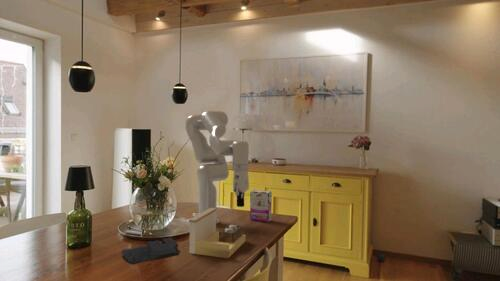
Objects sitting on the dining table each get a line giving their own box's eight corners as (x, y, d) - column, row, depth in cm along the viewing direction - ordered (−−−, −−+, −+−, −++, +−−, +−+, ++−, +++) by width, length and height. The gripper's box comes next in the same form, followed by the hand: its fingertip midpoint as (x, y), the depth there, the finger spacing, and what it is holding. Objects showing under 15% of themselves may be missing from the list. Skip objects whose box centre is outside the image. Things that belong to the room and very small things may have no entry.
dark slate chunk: (117, 254, 146) (117, 243, 146) (168, 244, 159) (168, 234, 159) (129, 266, 134) (129, 254, 134) (183, 254, 147) (183, 243, 146)
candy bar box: (271, 220, 199) (272, 191, 199) (268, 222, 195) (269, 192, 194) (253, 218, 204) (253, 189, 203) (249, 220, 199) (250, 191, 198)
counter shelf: (188, 253, 147) (188, 219, 146) (210, 237, 169) (210, 207, 168) (227, 258, 142) (228, 223, 141) (245, 241, 163) (245, 210, 163)
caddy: (219, 241, 153) (219, 230, 153) (228, 233, 165) (229, 223, 165) (233, 242, 152) (233, 232, 151) (242, 234, 163) (242, 224, 163)
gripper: (243, 169, 159) (243, 210, 160) (252, 166, 174) (252, 203, 174) (227, 168, 162) (227, 209, 162) (238, 165, 176) (238, 202, 176)
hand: (240, 206), depth 168 cm, fingers closed
